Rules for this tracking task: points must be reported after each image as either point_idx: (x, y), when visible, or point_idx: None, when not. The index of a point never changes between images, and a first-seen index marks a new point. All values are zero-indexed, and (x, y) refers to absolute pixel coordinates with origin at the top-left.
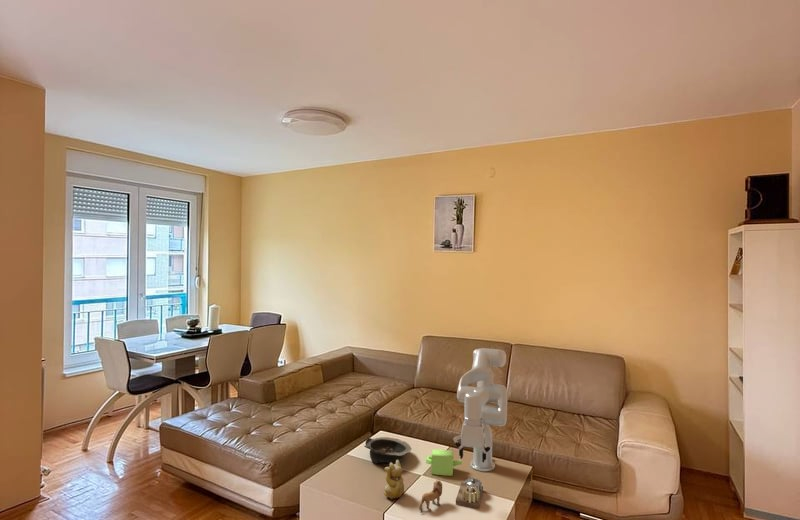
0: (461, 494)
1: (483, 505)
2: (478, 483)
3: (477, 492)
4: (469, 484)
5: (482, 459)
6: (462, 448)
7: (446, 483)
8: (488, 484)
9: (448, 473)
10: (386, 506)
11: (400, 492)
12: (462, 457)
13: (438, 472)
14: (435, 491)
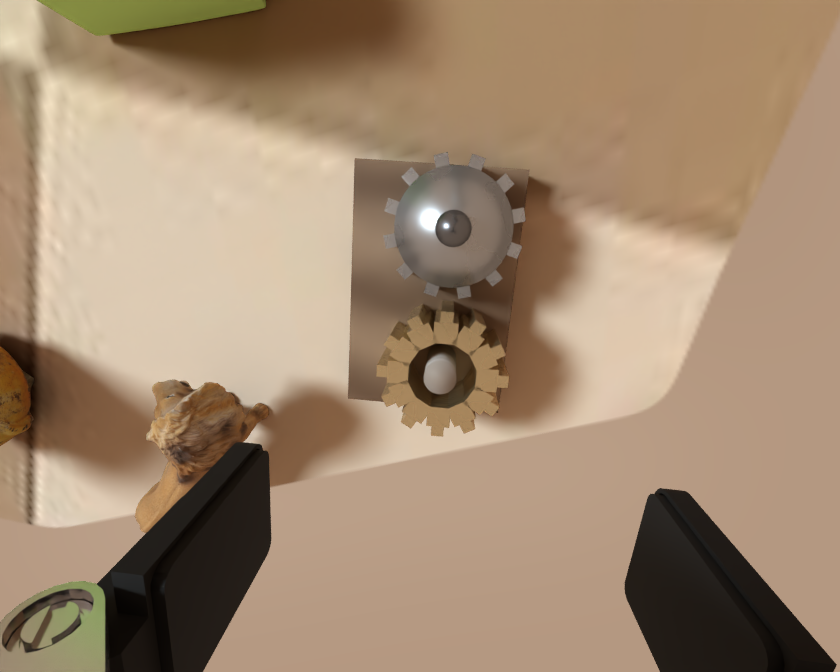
0: (376, 329)
1: (523, 359)
2: (498, 240)
3: (492, 396)
4: (423, 277)
5: (647, 639)
6: (158, 625)
7: (248, 146)
8: (570, 60)
9: (224, 4)
10: (15, 481)
11: (6, 437)
12: (269, 510)
13: (141, 18)
14: (197, 475)
